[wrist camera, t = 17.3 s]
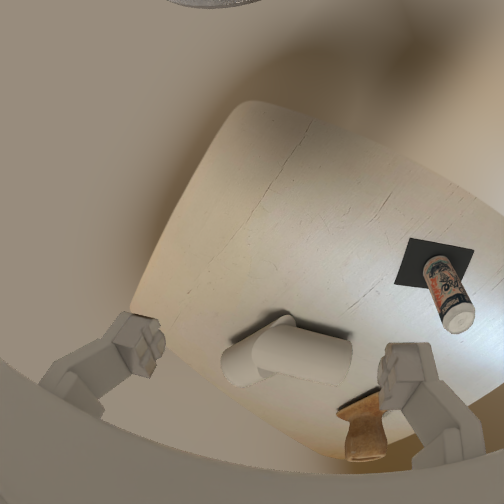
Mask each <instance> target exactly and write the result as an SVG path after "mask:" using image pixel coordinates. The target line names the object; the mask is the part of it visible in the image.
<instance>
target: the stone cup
mask: <svg viewBox="0 0 504 504" xmlns="http://www.w3.org/2000/svg"><path fill="white" fill-rule="evenodd" d="M379 392H380V391H379ZM379 392H376V393H374V394H372V395H370V396H368V397H366V398H363V399H361V400H359V401H357V402H355V403H353V404H351V405H349V406H347V407H345V408H343V409H342V410H340V411H338V412H337V413H336V415H337V416H338V417H339V418H341V419H343V420H346V421H349V422H350V427H349V431H348V434H347V437H346V441H345V458H346V460H348V461H350V462H364V461H371V460H376V459H379V458H382V457H384V456H385V455H386V452H387V439H386V435H385V432H384V429H383V425H382V415H383V414H384V413H385V412H386V411H388V410H379V395H378V394H379Z"/></svg>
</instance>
